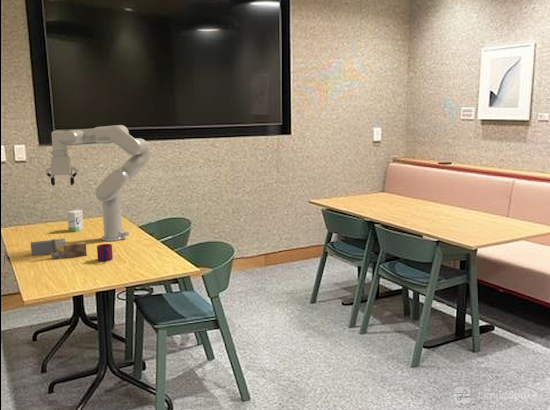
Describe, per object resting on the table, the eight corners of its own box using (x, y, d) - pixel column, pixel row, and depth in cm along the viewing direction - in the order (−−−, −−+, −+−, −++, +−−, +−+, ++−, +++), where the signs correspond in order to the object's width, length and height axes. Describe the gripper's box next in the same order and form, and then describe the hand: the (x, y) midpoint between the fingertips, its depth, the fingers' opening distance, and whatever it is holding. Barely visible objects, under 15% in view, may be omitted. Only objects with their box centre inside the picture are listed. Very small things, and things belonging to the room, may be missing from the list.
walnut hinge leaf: (86, 253, 258) (84, 235, 256) (86, 255, 254) (85, 237, 252) (51, 257, 251) (49, 239, 250) (51, 259, 248) (49, 240, 246)
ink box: (76, 228, 316) (74, 209, 314) (84, 229, 315) (82, 209, 313) (68, 231, 308) (66, 212, 306) (76, 232, 306) (74, 212, 304)
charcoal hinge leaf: (31, 256, 254) (30, 244, 253) (32, 253, 259) (31, 241, 258) (66, 252, 260) (65, 241, 259) (65, 250, 265) (64, 238, 264)
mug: (111, 257, 251) (110, 243, 250) (114, 262, 242) (113, 247, 241) (97, 258, 248) (96, 244, 247) (99, 264, 239) (98, 249, 238)
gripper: (41, 154, 277) (44, 186, 280) (75, 153, 279) (77, 185, 282) (45, 153, 284) (48, 184, 287) (78, 152, 287) (80, 183, 290)
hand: (62, 185), depth 285 cm, fingers open, 9 cm apart
